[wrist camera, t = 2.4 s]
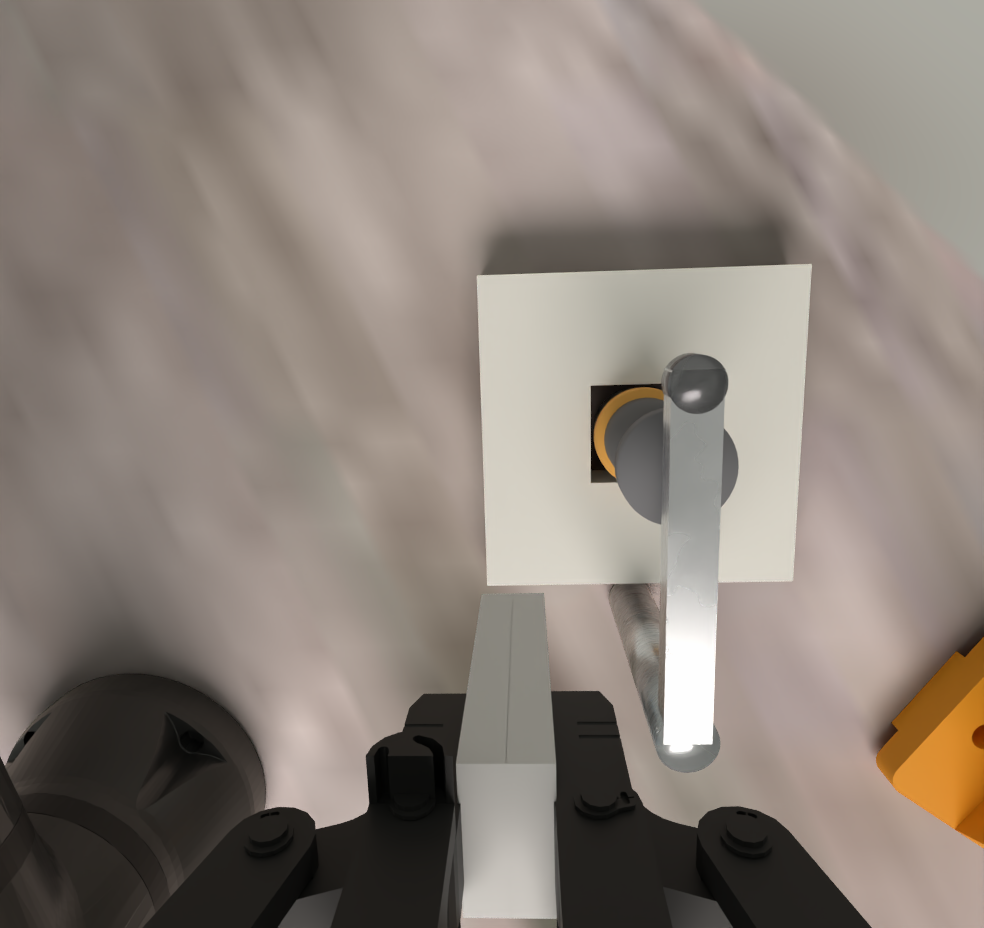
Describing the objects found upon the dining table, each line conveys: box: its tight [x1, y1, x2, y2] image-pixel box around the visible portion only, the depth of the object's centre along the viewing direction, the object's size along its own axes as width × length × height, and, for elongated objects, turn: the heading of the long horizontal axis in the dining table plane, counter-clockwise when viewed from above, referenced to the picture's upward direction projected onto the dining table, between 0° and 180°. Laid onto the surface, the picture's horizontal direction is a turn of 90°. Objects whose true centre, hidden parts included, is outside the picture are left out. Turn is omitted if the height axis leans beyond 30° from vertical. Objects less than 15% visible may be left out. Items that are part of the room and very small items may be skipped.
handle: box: [609, 353, 728, 773], centre depth 32 cm, size 2×16×14 cm, turn 2°
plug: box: [594, 387, 739, 525], centre depth 32 cm, size 5×5×12 cm
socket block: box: [477, 264, 812, 586], centre depth 37 cm, size 16×16×3 cm
